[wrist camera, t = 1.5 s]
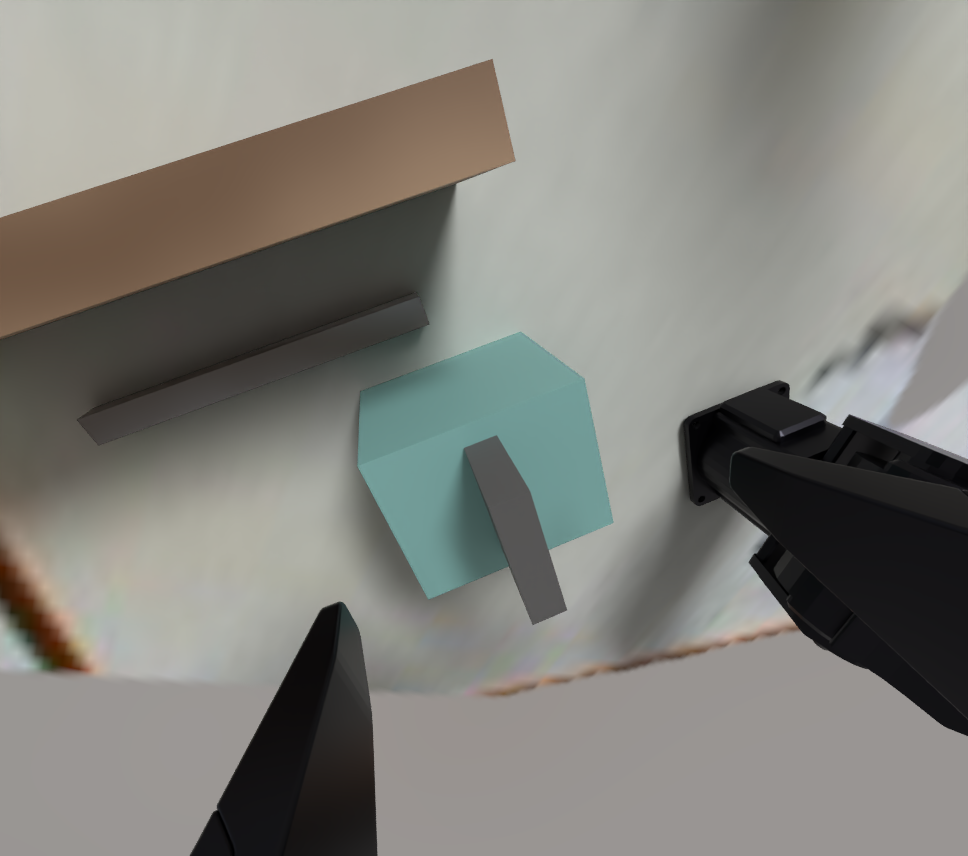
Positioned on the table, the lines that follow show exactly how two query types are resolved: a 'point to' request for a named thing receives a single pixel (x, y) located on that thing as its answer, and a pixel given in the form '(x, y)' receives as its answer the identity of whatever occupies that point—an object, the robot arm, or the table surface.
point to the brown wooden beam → (249, 227)
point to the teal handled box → (485, 467)
